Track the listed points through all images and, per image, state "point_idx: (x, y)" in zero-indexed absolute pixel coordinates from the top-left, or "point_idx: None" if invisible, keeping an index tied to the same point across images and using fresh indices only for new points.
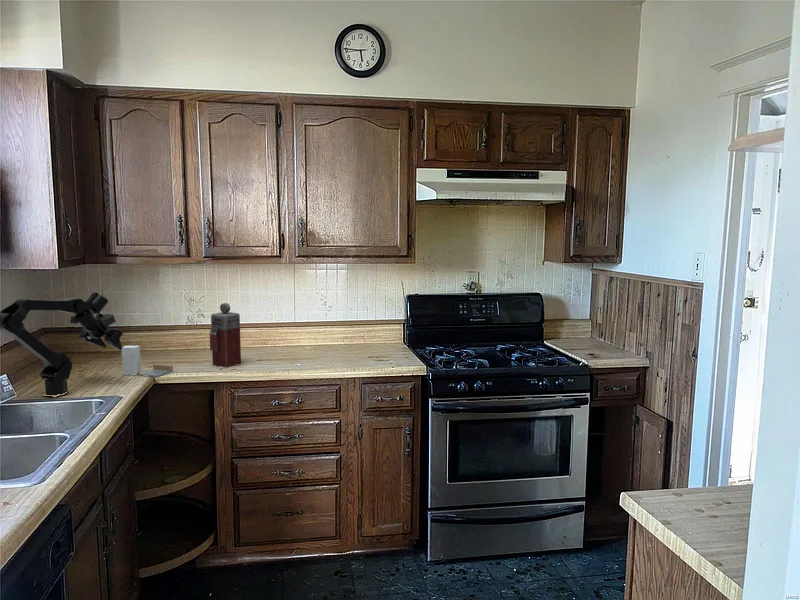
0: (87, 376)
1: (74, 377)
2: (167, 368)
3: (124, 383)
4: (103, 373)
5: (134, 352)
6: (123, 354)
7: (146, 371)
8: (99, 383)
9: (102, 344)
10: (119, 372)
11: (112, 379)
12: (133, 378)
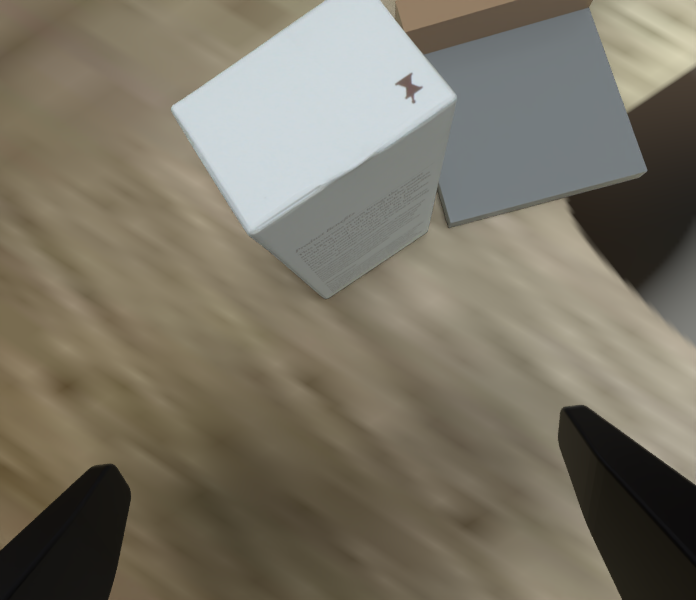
0: None
1: None
2: (563, 2)
3: None
4: (124, 352)
5: (434, 149)
6: (301, 247)
7: None
8: (400, 575)
9: (85, 574)
10: (208, 258)
11: (370, 428)
12: (492, 306)
